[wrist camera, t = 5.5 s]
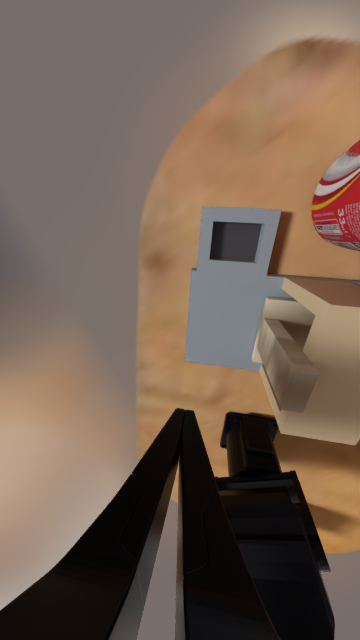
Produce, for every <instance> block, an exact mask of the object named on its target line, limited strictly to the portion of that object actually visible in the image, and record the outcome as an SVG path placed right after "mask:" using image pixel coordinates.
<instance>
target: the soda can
mask: <svg viewBox="0 0 360 640" xmlns="http://www.w3.org/2000/svg"><path fill="white" fill-rule="evenodd" d="M312 219H313V224H314V226H315V229H316V230H317V232H318V234H319V235H320V236H321V237H322V238H323V239H325V240H326V241H327V242H329V243H332V244H334V245H337V246H340V247H344V248H348V249H352V250H358V251H360V140H359V141H358V142H357V143H355V144H354V145H353V146H352V147H351V148H349V149H348V150H347V151H346V152H345V153H343V154H342V155H341V156H340V157H339V158H337V159H336V160H335V161H334V163H333V164H332V165H331V166H330V167H329V168H328V170H327V171H326V172H325V174H324V175H323V177H322V178H321V180H320V182H319V184H318V186H317V188H316V191H315V194H314V197H313V202H312Z"/></svg>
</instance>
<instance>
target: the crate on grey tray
mask: <svg viewBox="0 0 360 640" xmlns="http://www.w3.org/2000/svg"><path fill="white" fill-rule="evenodd" d="M281 211H282V209H257V208H231V207H204V206H202V214H201V226H200V238H199V250H198V262H197V268H192V270H191V281H190V295H189V309H188V323H187V337H186V351H185V362H191V363H199V364H206V365H214V366H222V367H230V368H237V369H245V370H253V371H259V372H260V375H261V378H262V381H263V384H264V386H265V389H266V392H267V395H268V398H269V401H270V404H271V407H272V409H273V412H274V415H275V418H276V421H277V424H278V427H279V429H280V432H281V434H287V435H293V436H300V437H306V438H312V439H318V440H324V441H330V442H337V443H343V444H349V445H356V444H357V442H358V441H359V439H360V280H346V279H332V278H319V277H305V276H292V275H278V274H267V271H268V267H269V262H270V258H271V254H272V249H273V245H274V241H275V236H276V232H277V228H278V224H279V219H280V215H281ZM266 297H274V298H286V299H295V300H297V301H298V302H299V303H300V304H302V305H303V306H304V307H306V308H307V309H308V310H309V311H311V312H312V313H313V314H315V315H316V316H315V318H314V321H313V324H312V327H311V329H310V332H309V335H308V338H307V340H306V343H305V346H304V348H303V352H304V354H305V355H306V356H307V358H308V359H309V360H310V361H311V363H312V364H313V365H314V367H315V368H316V369H317V370H318V372H319V373H320V375H319V377H318V379H317V381H316V384H315V386H314V388H313V391H312V393H311V395H310V398H309V400H308V402H307V404H306V407H305V409H304V411H303V413H298V412H291V411H285V410H282V409H281V407H280V404H279V402H278V399H277V397H276V394H275V392H274V389H273V387H272V384H271V382H270V379H269V377H268V374H267V372H266V369H265V367H264V364H263V363H257V362H253V361H252V353H253V349H254V345H255V341H256V337H257V333H258V329H259V324H260V320H261V316H262V312H263V308H264V304H265V300H266Z"/></svg>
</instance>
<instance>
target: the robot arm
mask: <svg viewBox="0 0 360 640" xmlns="http://www.w3.org/2000/svg"><path fill="white" fill-rule="evenodd" d="M278 428H279V427H278V424H277V421H276V420H274V419H267V418H261V417H254V416H248V415H242V414H235V413H227V414H226V416H225V421H224V426H223V431H222V436H221V441H220V446H221V447H222V448H226V449H227V458H228V471H229V477H220V478H218V477H214V474H213V471H212V467H211V464H210V461H209V458H208V455H207V451H206V448H205V445H204V442H203V439H202V435H201V432H200V429H199V426H198V423H197V419H196V416H195V413H194V411H193V410H184V409H180V408H177V409H175V411H174V412H173V414H172V415H171V417H170V418H169V420H168V421H167V422H166V424H165V425H164V427H163V428H162V430H161V431H160V433H159V434H158V435H157V437H156V438H155V440H154V441H153V443H152V444H151V446H150V447H149V449H148V450H147V451H146V453H145V454H144V456H143V457H142V459H141V460H140V462H139V463H138V464H137V466H136V467H135V469H134V470H133V472H132V474H130V476H129V477H128V479H127V480H126V482H125V483H124V484H123V486H122V487H121V489H120V490H119V491H118V493H117V494H116V495H115V497H114V498H113V499H112V501H111V502H110V503H109V504H108V505H107V507H106V508H105V509H104V510H103V512H102V513H101V514H100V515H99V516H98V517H97V519H96V520H95V521H94V522H93V523H92V525H91V526H90V527H89V528H88V529H87V531H86V532H85V533H84V534H83V535H82V536H81V537H80V539H79V540H78V541H77V542H76V544H75V545H74V546H73V547H72V548H71V549H70V550H69V551H68V553H67V554H66V555H65V556H64V557H63V558H62V559H61V560H60V561H59V562H58V563H57V564H56V565H55V566H54V567H53V568H52V569H51V570H50V571H49V572H48V573H46V574H45V575H44V576H43V577H42V578H40V579H39V580H38V581H37V582H35V583H34V584H33V585H32V586H30V587H29V588H28V589H27V590H25V591H24V592H23V593H22V594H20V595H19V596H18V597H17V598H15V599H14V600H13V601H12V602H10V603H9V604H8V605H6V606H5V607H4V608H3V609H2V610H0V640H136V639H137V634H138V630H139V626H140V622H141V617H142V611H143V609H144V605H145V601H146V596H147V592H148V588H149V584H150V580H151V576H152V572H153V567H154V563H155V559H156V555H157V551H158V547H159V542H160V538H161V534H162V530H163V526H164V521H165V517H166V513H167V509H168V505H169V501H170V496H171V492H172V488H173V484H174V480H175V475H176V471H177V467H178V462H179V487H178V531H177V532H178V533H177V535H178V536H177V576H176V623H175V640H334V630H335V629H334V628H335V623H334V616H333V612H332V608H331V605H330V601H329V597H328V594H327V591H326V588H325V585H324V582H323V579H322V575H321V572H320V571H324V572H331V570H330V568H329V565H328V562H327V559H326V556H325V553H324V550H323V547H322V544H321V541H320V538H319V536H318V533H317V530H316V527H315V524H314V521H313V519H312V516H311V513H310V510H309V507H308V505H307V502H306V499H305V496H304V494H303V491H302V488H301V485H300V483H299V480H298V477H297V474H296V472H295V470H294V471H290V472H284V473H282V470H281V467H280V464H279V460H278V457H277V454H276V450H275V447H274V443H273V441H274V438H275V435H276V433H277V430H278ZM179 457H180V458H179Z"/></svg>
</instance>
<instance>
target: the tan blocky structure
mask: <svg viewBox="0 0 360 640" xmlns="http://www.w3.org/2000/svg"><path fill="white" fill-rule="evenodd" d="M315 316H316V315H315V314H313V313H312V312H311V311H309V310H308V309H307V308H306V307H304V306H303V305H302V304H300V303H299V302H298V301H297V300H295V299H286V298H274V297H266V300H265V304H264V308H263V312H262V316H261V320H260V324H259V329H258V333H257V337H256V341H255V345H254V349H253V353H252V361H253V362H257V363H263V364H264V367H265V369H266V372H267V374H268V377H269V379H270V382H271V384H272V387H273V389H274V392H275V394H276V397H277V399H278V402H279V404H280V407H281V409H282V410H285V411H291V412H298V413H303V411H304V409H305V407H306V404H307V402H308V400H309V398H310V395H311V393H312V391H313V388H314V386H315V384H316V381H317V379H318V377H319V375H320V373H319V372H318V370H317V369H316V368H315V367H314V365H313V364H312V363H311V361H310V360H309V359H308V358H307V356H306V355H305V354H304V352H303V348H304V346H305V343H306V340H307V338H308V335H309V332H310V329H311V327H312V324H313V321H314V318H315Z"/></svg>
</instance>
